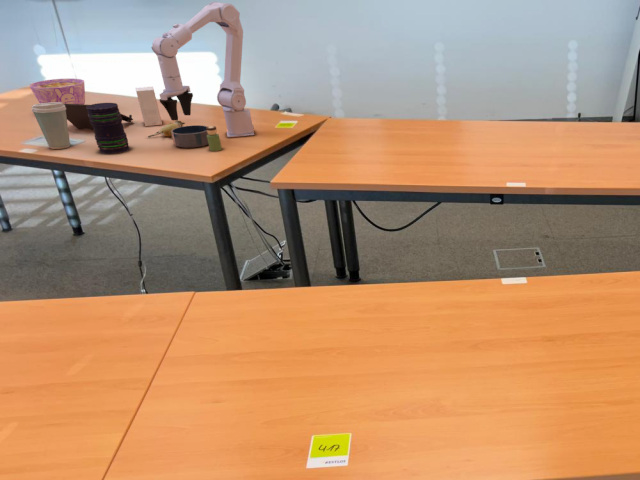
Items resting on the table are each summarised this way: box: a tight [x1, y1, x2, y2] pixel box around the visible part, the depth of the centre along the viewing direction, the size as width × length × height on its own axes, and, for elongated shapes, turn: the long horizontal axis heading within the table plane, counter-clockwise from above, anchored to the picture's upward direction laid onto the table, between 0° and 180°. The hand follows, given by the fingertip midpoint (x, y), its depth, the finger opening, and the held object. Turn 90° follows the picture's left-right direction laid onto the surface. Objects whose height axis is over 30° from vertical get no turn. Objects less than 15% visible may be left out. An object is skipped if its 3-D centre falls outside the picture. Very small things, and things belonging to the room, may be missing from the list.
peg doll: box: [206, 125, 223, 152], centre depth 253 cm, size 4×4×8 cm
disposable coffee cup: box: [30, 102, 71, 150], centre depth 254 cm, size 11×11×15 cm
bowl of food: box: [29, 78, 86, 105], centre depth 300 cm, size 20×20×12 cm
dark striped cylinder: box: [86, 102, 131, 155], centre depth 251 cm, size 10×10×15 cm
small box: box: [135, 86, 163, 127], centre depth 284 cm, size 8×6×13 cm
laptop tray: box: [64, 104, 134, 131], centre depth 279 cm, size 23×23×9 cm
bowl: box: [171, 124, 209, 149], centre depth 261 cm, size 13×13×5 cm
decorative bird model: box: [147, 120, 186, 140], centre depth 270 cm, size 4×13×10 cm
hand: (181, 117), depth 255 cm, fingers open, 7 cm apart
